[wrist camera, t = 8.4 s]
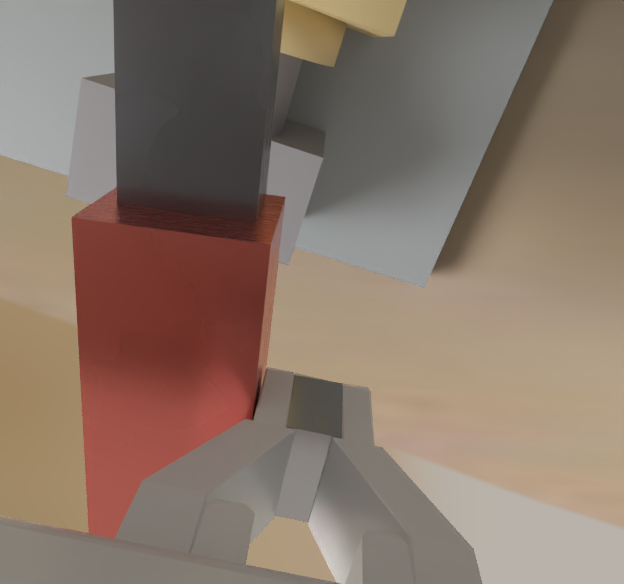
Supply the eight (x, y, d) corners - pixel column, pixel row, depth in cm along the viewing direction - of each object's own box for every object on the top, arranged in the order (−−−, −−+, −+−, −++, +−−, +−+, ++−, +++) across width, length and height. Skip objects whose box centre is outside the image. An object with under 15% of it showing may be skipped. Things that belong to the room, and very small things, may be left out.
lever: (111, 462, 12) (62, 556, 10) (83, -576, 6) (-66, -940, 4) (276, 483, 12) (262, 581, 10) (414, -523, 6) (459, -843, 4)
